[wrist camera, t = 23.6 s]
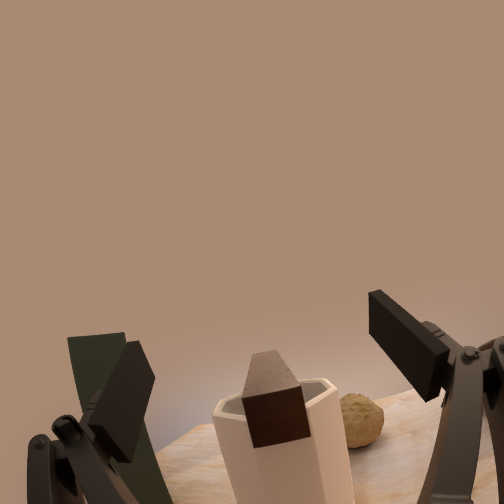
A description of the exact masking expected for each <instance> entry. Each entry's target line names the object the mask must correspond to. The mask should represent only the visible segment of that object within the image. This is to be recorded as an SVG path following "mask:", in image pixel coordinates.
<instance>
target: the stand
mask: <svg viewBox="0 0 504 504" xmlns="http://www.w3.org/2000/svg"><path fill="white" fill-rule="evenodd" d="M67 340H68V345H69V353H70V358H71V364H72V369H73V374H74V378H75V383H76V387H77V392H78V396H79V400H80V404H81V408H82V412H83V414H84V412H85V410H86V408H87V406H88V404H89V402H90V400H91V398H92V396H93V395H94V394H95V393H96V392H97V391H98V390H103V389H104V387H105V385H106V383H107V381H108V379H109V377H110V375H111V373H112V371H113V369H114V367H115V365H116V363H117V361H118V359H119V357H120V355H121V353H122V351H123V349H124V347H125V346H126V338H125V333H124V332H121V333H111V334H101V335H90V336H78V337H68V338H67ZM110 463H111V464H112V465H113V466H114V468H115V469H116V471H117V473H118V474H119V476H120V477H121V479H122V480H123V482H124V483H125V485H126V486H127V488H128V489H129V490H130V492H131V493H132V495H133V496H134V497H135V499H136V500H137V501H138V503H139V504H173V502H172V499H171V497H170V494H169V492H168V489H167V487H166V484H165V482H164V479H163V477H162V474H161V471H160V468H159V466H158V463H157V460H156V457H155V454H154V451H153V448H152V445H151V442H150V439H149V435H148V432H147V429H146V425H145V422H144V419H143V423H142V427H141V430H140V434H139V438H138V442H137V446H136V449H135V453H134V457H133V461H132V464H130V463H118V462H117V461H116V460H115V459H114V458H113V457H112V456H111V459H110Z"/></svg>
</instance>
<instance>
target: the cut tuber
mask: <svg viewBox="0 0 504 504" xmlns="http://www.w3.org/2000/svg"><path fill="white" fill-rule="evenodd" d="M340 406H341V412H342V417H343V423H344V429H345V436H346V442H347V446H348V447H350V448H357V447H363V446H364V445H368V444H370V443H372V442H374V441H375V440H376V439H377V438H378V437H379V436H380V434H381V430H382V427H383V425H384V424H383V423H384V412H383V409H382V408H380V407H378V406H377V405H376V404H374V402H372V401H371V400H369V398H368V397H365V396H363V395H361V394H358V395H356V394H347V395H346V396H344V397H343V398H341V399H340Z"/></svg>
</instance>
